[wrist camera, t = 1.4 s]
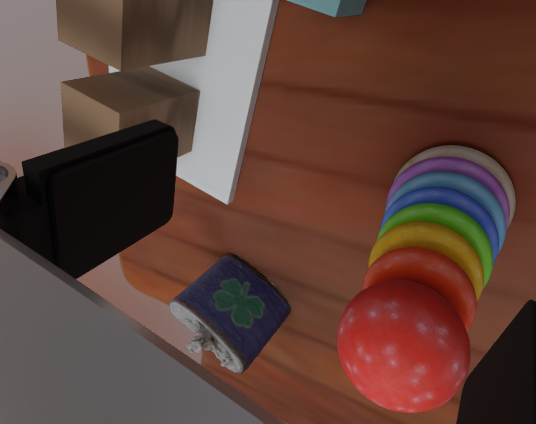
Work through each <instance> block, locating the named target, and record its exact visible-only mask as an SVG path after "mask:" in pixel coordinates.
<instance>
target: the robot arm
mask: <svg viewBox="0 0 536 424" xmlns="http://www.w3.org/2000/svg"><path fill="white" fill-rule="evenodd" d="M178 143H179V138H178V136H177V134H176V131H175V129H174V128H173V127H172V126H170V125H168V124H165V123H163V122H161V121H159V120H156V119H154V120H150V121H147V122H144V123H141V124H137V125H134V126H131V127H128V128H125V129H122V130H119V131H116V132H113V133H109V134H106V135H103V136H100V137H97V138H94V139H91V140H88V141H85V142H81V143H78V144H75V145H72V146H69V147H66V148H63V149H60V150H57V151H53V152H50V153H47V154H44V155H41V156H38V157H35V158H32V159H29V160H25V161H23V162H22V167H23V173H24V176H22V177H19V178H17V174H16V171H15V169H14V168H13V167H12V166H11V165H9V164H7V163H4V162H1V161H0V424H285V423H283V422H282V421H281V420H279V419H278V418H276V417H275V416H273V415H272V414H270V413H269V412H268V411H266V410H265V409H263V408H262V407H260V406H259V405H257V404H256V403H255V402H253V401H252V400H250V399H249V398H247V397H246V396H245V395H243V394H242V393H240V392H239V391H237V390H236V389H234V388H233V387H232V386H230V385H229V384H227V383H226V382H224V381H223V380H222V379H220V378H219V377H217V376H216V375H214V374H213V373H211V372H210V371H209V370H207V369H206V368H204V367H203V366H201V365H200V364H198V363H197V362H196V361H194V360H192V359H191V358H190V357H188V356H187V355H185V354H184V353H182V352H181V351H180V350H178V349H177V348H175V347H174V346H172V345H171V344H169V343H168V342H166V341H165V340H164V339H162V338H161V337H159V336H158V335H156V334H155V333H153V332H152V331H151V330H149V329H148V328H146V327H145V326H143V325H142V324H140V323H139V322H137V321H136V320H134V319H133V318H131V317H130V316H129V315H127V314H126V313H124V312H123V311H121V310H120V309H118V308H116V306H114V305H112V304H111V303H109V302H108V301H107V300H105V299H104V298H102V297H101V296H99V295H98V294H97V293H95V292H94V291H92V290H91V289H89V288H88V287H86V286H85V285H83V284H82V283H80V282H79V281H77V280H76V279H77V278H79V277H81V276H82V275H84V274H85V273H87V272H89V271H90V270H92V269H93V268H95V267H97V266H98V265H100V264H102V263H103V262H105V261H106V260H108V259H110V258H111V257H113V256H114V255H116V254H118V253H119V252H121V251H123V250H124V249H126V248H127V247H129V246H131V245H132V244H134V243H136V242H137V241H139V240H140V239H142V238H144V237H145V236H147V235H149V234H150V233H152V232H153V231H155V230H157V229H158V228H160V227H161V226H163V225H165V224H166V223H167V222H168V221H169V220H170V219H171V217H172V214H173V205H174V193H175V180H176V168H177V155H178ZM456 424H536V302H535V301H533V300H529V301H528V302H527V303H526V304H525V305H524V306H523V308H522V309H521V310H520V311H519V313H518V314H517V315H516V316H515V318H514V319H513V320H512V322H511V323H510V324H509V325H508V327H507V328H506V329H505V330H504V332H503V333H502V334H501V336H500V337H499V338H498V339H497V341H496V342H495V343H494V344H493V346H492V347H491V348H490V349H489V351H488V352H487V353H486V355H485V356H484V357H483V358H482V360H481V361H480V362H479V363H478V365H477V366H476V367H475V369H474V370H473V371H472V372H471V374H470V375H469V376H468V378H467V380H466V382H465V384H464V387H463V390H462V395H461V401H460V406H459V412H458V418H457V423H456Z"/></svg>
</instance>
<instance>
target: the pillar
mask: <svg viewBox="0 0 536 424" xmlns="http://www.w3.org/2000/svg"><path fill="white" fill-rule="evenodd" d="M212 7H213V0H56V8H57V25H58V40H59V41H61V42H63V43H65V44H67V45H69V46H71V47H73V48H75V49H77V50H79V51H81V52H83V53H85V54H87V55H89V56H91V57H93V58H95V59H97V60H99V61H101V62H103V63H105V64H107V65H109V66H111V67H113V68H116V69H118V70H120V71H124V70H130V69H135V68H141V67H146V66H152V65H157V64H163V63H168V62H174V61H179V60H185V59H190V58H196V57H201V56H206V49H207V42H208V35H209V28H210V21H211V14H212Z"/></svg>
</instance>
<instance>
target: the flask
mask: <svg viewBox="0 0 536 424" xmlns="http://www.w3.org/2000/svg"><path fill="white" fill-rule="evenodd" d="M291 308H292V306H291V305H290V302H289V301H288V300H287V298H286V297H285V296H284V295H283V294H282V293H281V292H280V291H279V290H278V288H277V287H275V286H274V284H273V283H272V282H271V281H269V280H268V279H267V278H266V277H265V276H262V275H261V274H260V273H259V271H257V270H255V269H254V268H253V267H252V266H250V265H249V264H248V263H246V262H245V261H243V259H241V258H240V257H237V256H235V255H234V254H228V255H225V256H223V257H222V258H221V259H220V260H219V261H217V262H216V263H215V264H214V265H213V266H212V267H211V268H210V269H208V270H207V271H206V272H205V273H204V274H203V275H201V276H200V277H199V278H198V279H197V280H196V281H194V282H193V283H192V284H191V285H190V286H188V287H187V288H186V289H185V290H184V291H183V292H181V293H180V294H179V295H178V296H176V297H175V298H174V299H173V300H172V301H171V302H170V310H171V313H172V315H173V316H174V317H175V318H176V319H177V320H179V321H180V322H182V323H183V324H184V325H185V326H187V327H188V328H189V329H190V330H191V331H192V332H193V333H195V334H196V337H193V340H192V341H191V343H187V348H188V349H189V350H190V352H191V353H193V351H192V348H193V350H194V351H195V352H198V353H199V351H200V350H202V349H205V350H208V351H210V350H212V352H214V353H215V355H216V357H217V358H218V359H219V360H220V361H221V366H223V367H227V368H228V369H229V370H231V371H232V372H235V373H240V374H241V373H243V372H244V371H245V370H246V369H248V367H249V366H250V364H251V363H252V362H253V360H254V359H255V358H256V357H257V356H258V354H259V353H260V352H261V350H262V349H263V347H264V346H265V345H266V344H267V342H268V341H269V340H270V339H271V337H272V336H273V334H274V333H275V332H276V331H277V330H278V328H279V327H280V326H281V324H282V323H283V322H284V321H285V319H286V318H287V316H288V315H289V313H290V311H291Z"/></svg>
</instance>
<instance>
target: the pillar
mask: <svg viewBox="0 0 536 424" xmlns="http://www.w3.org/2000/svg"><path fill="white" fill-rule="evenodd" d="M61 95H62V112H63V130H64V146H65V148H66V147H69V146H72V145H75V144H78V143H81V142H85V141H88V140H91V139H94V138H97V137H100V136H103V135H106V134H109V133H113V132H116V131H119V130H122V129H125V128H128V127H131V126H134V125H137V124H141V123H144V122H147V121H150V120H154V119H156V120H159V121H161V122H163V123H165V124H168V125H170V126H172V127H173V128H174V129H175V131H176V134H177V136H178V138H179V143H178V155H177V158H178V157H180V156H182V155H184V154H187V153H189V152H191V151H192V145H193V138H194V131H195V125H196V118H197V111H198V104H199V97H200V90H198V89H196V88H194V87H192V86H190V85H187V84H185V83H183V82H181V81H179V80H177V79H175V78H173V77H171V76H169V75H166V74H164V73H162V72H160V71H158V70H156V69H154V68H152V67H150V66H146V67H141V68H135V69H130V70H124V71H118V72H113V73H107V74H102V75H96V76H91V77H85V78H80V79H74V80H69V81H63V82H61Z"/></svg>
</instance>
